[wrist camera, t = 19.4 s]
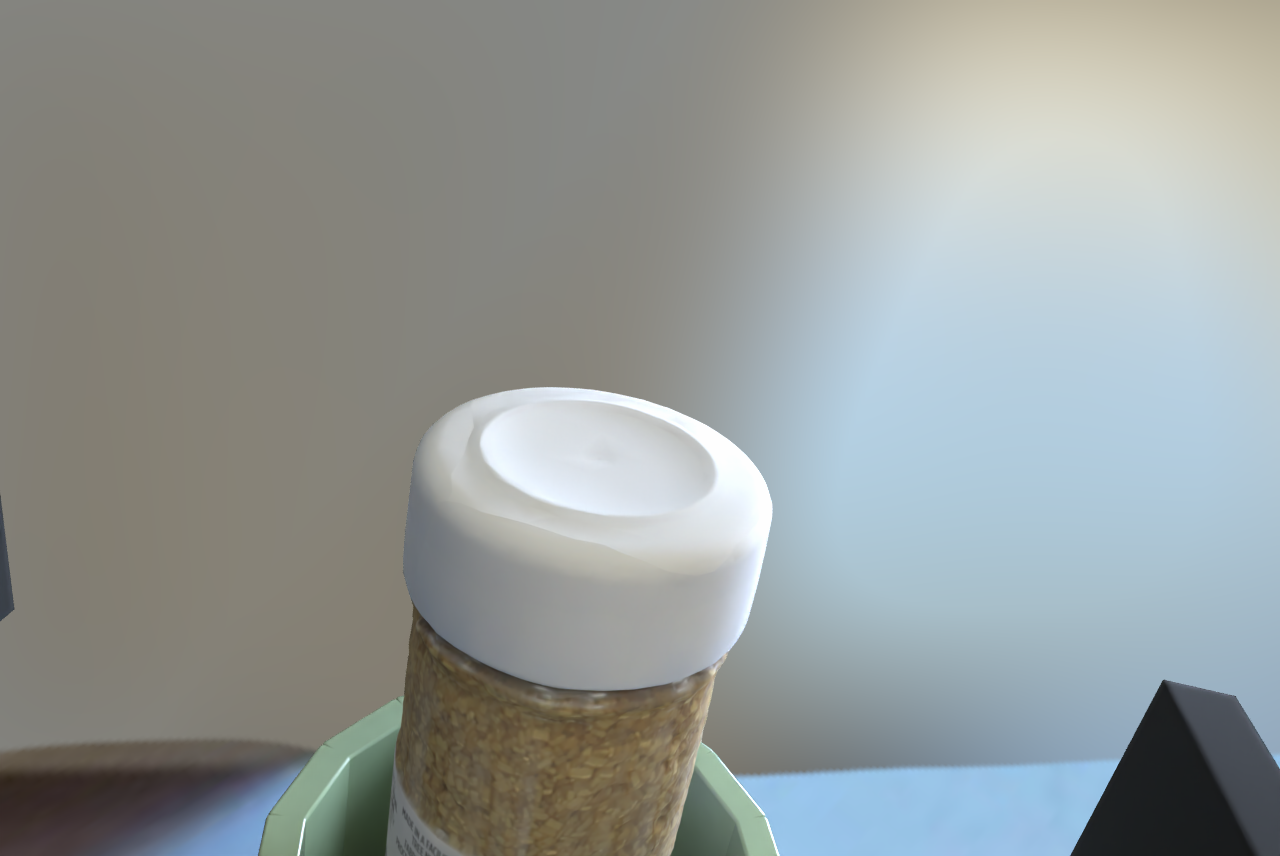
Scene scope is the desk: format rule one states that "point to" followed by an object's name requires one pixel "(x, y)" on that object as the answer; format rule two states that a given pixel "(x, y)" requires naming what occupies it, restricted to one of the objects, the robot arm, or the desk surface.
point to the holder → (361, 790)
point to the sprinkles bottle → (566, 622)
